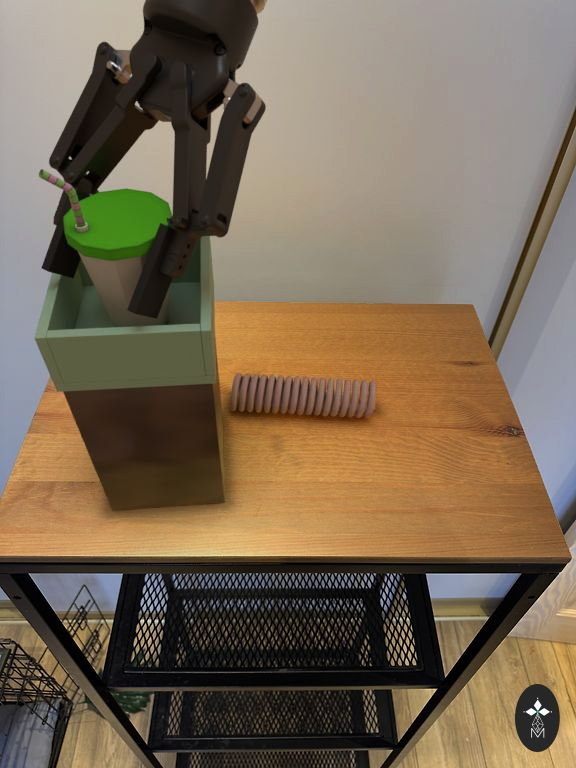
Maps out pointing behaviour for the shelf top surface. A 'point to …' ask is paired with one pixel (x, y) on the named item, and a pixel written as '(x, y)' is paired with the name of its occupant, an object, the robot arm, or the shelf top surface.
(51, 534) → the shelf top surface
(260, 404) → the coil
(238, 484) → the shelf top surface
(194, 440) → the stand
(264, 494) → the shelf top surface
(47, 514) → the shelf top surface
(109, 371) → the bin
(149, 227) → the cup
